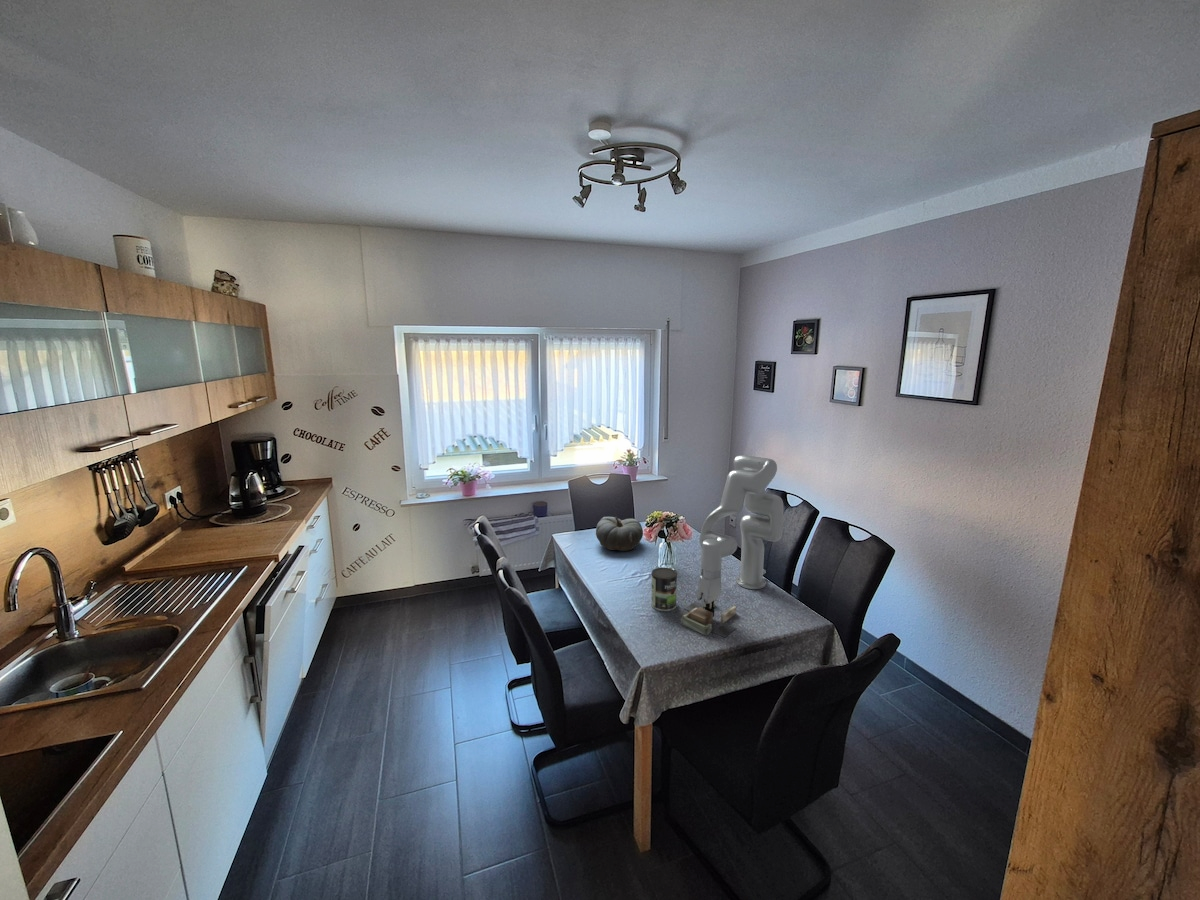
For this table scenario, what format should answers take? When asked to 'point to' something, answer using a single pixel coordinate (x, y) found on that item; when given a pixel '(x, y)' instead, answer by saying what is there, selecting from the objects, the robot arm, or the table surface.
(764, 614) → the table surface
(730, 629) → the trap lane
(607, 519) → the gourd
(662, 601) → the coffee can
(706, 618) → the block
